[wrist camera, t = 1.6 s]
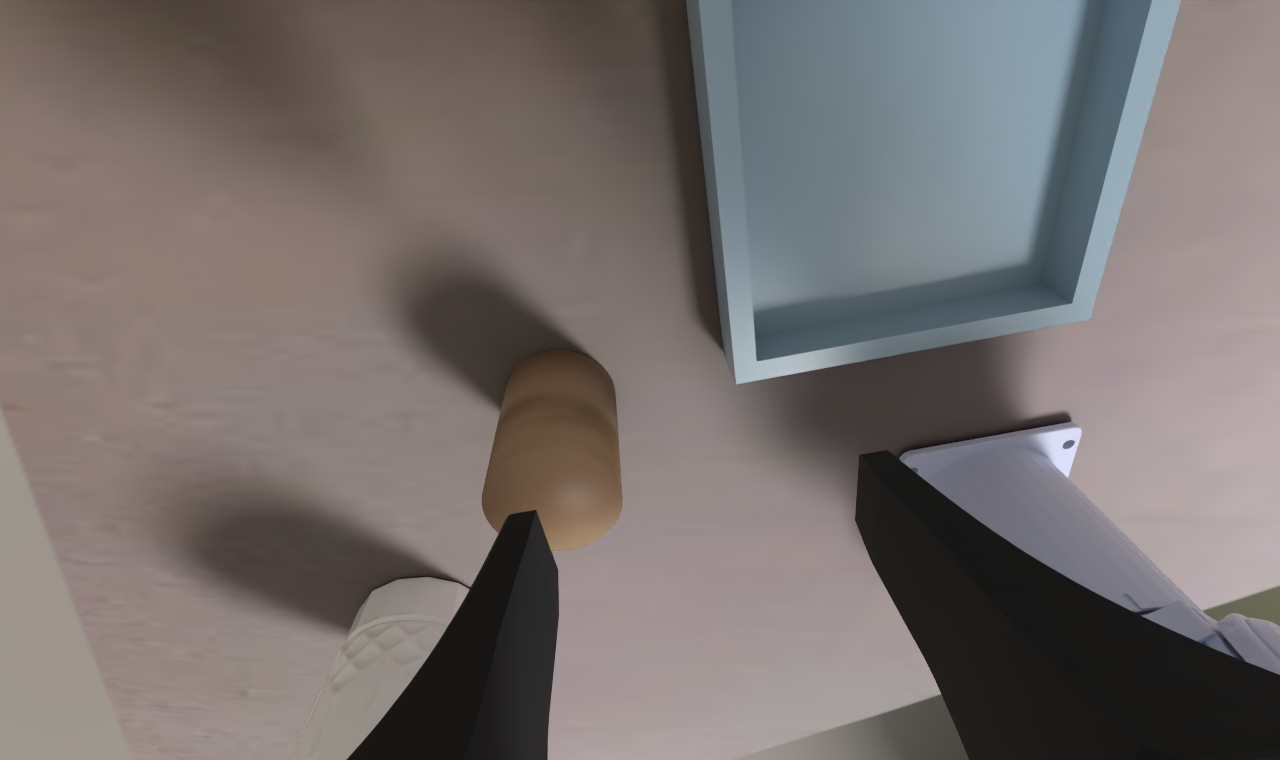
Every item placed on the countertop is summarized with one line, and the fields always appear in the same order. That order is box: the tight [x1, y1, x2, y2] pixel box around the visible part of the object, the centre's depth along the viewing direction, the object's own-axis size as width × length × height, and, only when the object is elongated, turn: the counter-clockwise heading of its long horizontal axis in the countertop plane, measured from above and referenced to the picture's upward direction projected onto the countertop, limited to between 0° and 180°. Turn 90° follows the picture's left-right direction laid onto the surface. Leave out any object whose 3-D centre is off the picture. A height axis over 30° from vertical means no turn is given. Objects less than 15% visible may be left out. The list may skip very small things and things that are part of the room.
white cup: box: [289, 577, 470, 760], centre depth 26 cm, size 8×8×10 cm
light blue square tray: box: [686, 0, 1181, 384], centre depth 18 cm, size 13×13×2 cm
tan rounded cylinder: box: [482, 349, 622, 551], centre depth 21 cm, size 4×4×6 cm
